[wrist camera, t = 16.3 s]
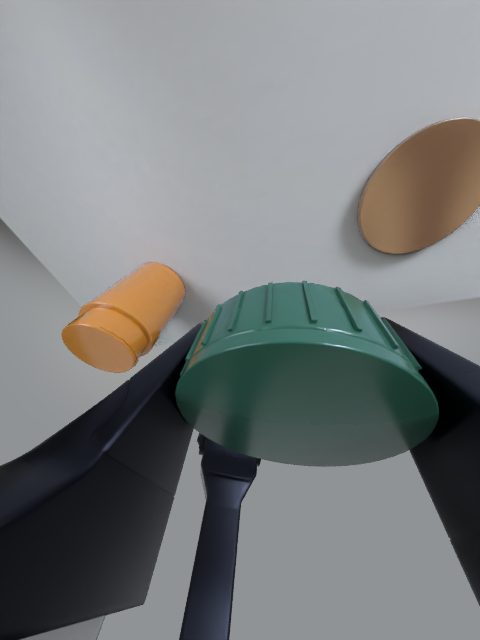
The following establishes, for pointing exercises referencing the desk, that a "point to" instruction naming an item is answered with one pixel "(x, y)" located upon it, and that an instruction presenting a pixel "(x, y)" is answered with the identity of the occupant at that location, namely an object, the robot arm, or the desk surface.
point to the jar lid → (304, 379)
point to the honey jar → (125, 318)
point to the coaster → (423, 188)
